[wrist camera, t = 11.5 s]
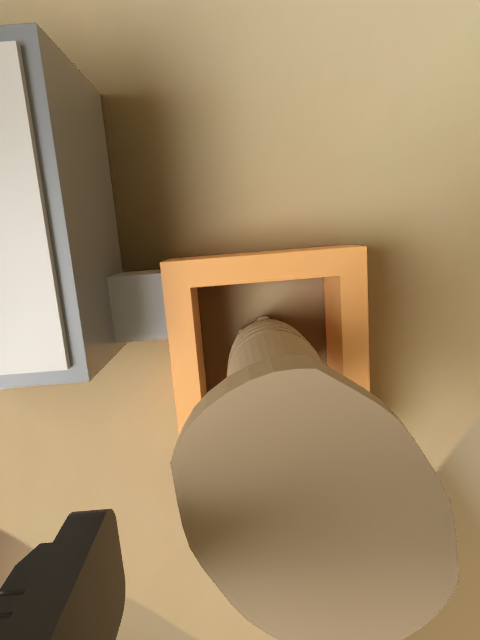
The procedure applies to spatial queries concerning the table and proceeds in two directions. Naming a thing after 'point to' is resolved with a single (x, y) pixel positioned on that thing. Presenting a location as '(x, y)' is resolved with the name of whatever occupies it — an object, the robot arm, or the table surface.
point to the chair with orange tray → (115, 247)
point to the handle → (312, 498)
